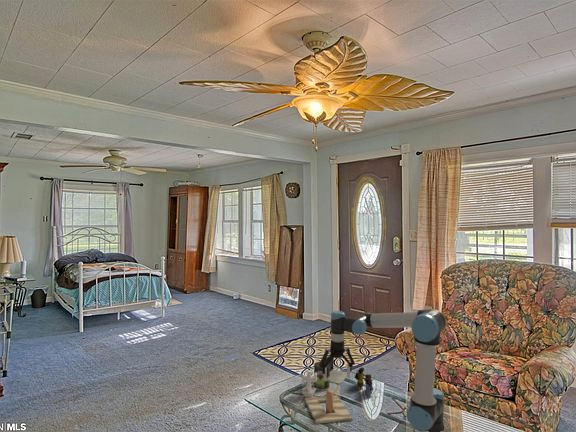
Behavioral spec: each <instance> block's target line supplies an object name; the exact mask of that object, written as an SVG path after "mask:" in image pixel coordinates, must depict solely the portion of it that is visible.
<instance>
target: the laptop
mask: <svg viewBox="0 0 576 432" xmlns="http://www.w3.org/2000/svg"><path fill="white" fill-rule="evenodd" d="M328 357H329V355H328V356H327V358H328ZM327 358H326V360H327ZM326 360H325V361H326ZM334 360H335V357H334V358H333V359H332V360H331V361H330V363H329V364H330V383H332V384H337V385H340V384H342V383H343V381H345V379H347V378H348V377H347V372H344V371H341V370H337V369H334V365H335V363H334Z"/></svg>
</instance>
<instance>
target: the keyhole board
mask: <svg viewBox="0 0 576 432" xmlns="http://www.w3.org/2000/svg"><path fill="white" fill-rule="evenodd" d="M304 402H305V404H306V406H307V408H308V410H309V412H310V414H311V416H312V418H313V420H314V422H315V424H317V425H318V424H329V423H340V422H350V421H353V419H354V418H353V415H351V413H350V412H349V410H348V409H347V407H346V406H345V405H344V403H343V402H342V400H341V398H339V396H338V395H334V397H333V413H328V414H326V409H324V407H323V406H321V405H320V404H321V403H326V396H315V397H311V398H309V397H304Z"/></svg>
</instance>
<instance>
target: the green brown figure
mask: <svg viewBox="0 0 576 432" xmlns="http://www.w3.org/2000/svg"><path fill="white" fill-rule="evenodd" d="M319 363H320V361H316V362H315V363H314V364H313V366H314V367H313V375H314V374H315V373H317V381H316V382H313V385H312V387H313V388H317V389H316V390H317V391H319V392H320V391H322V392H323V391H327V390H330V385H331V384H330V383H331V382H330V364H328V365H327V366H326V368H327V381H325V380H324V374H323V373H322V368H321V367H320V366H319Z"/></svg>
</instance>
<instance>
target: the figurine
mask: <svg viewBox="0 0 576 432" xmlns="http://www.w3.org/2000/svg"><path fill="white" fill-rule="evenodd" d="M312 375H313V376H312ZM305 381H306V385H305ZM316 381H317V373H315V374H314V373H313V370H309V369H308V370H307V371H306V375H305V374H304V375H302V376H301V384H302V385H304V387H303V388H302V389H301V393H302V395H303V397H304V398H313V396H314V394H315V393H316V390H317V388H314V387H313V386H312V383H314V382H316Z"/></svg>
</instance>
